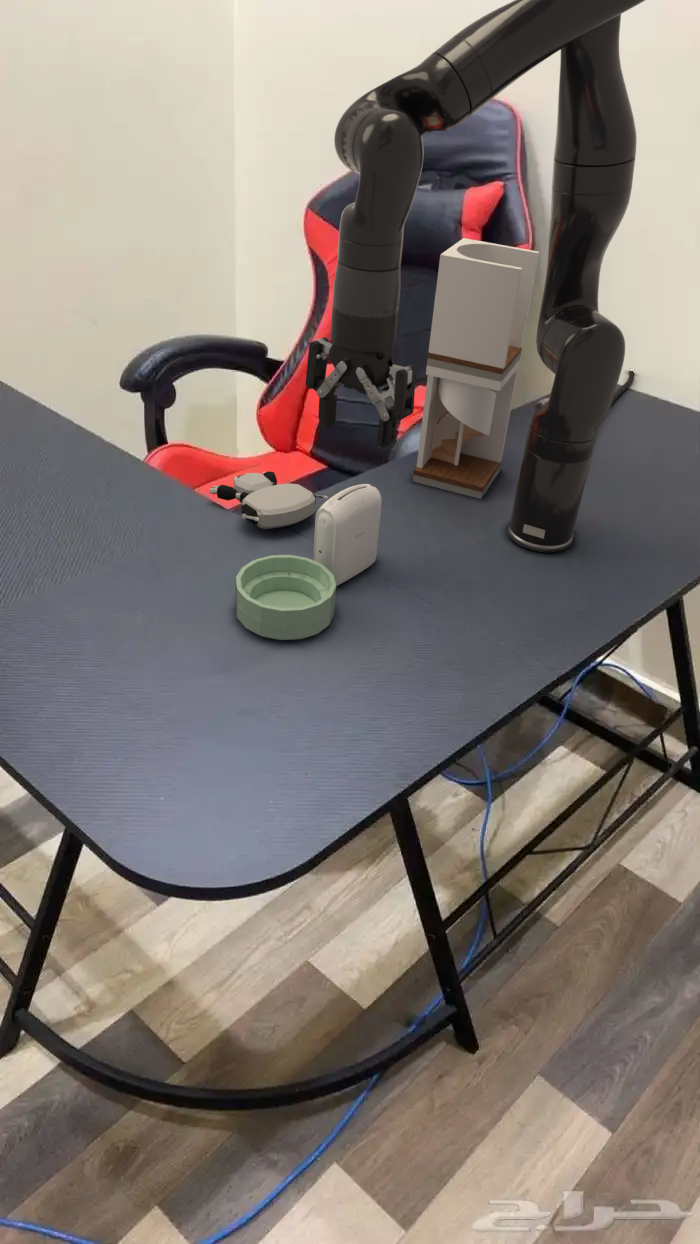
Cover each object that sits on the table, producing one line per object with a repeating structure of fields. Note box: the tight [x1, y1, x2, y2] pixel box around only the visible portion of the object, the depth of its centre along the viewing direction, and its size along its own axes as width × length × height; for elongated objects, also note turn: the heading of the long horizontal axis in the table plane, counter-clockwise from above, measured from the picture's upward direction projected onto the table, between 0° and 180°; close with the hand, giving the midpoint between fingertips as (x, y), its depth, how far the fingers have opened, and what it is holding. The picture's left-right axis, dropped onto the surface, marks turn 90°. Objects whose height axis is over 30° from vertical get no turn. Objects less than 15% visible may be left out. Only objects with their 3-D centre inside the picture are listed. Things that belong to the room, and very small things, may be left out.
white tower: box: [412, 237, 540, 500], centre depth 143 cm, size 11×11×35 cm
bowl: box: [235, 554, 337, 641], centre depth 118 cm, size 12×12×5 cm
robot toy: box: [208, 470, 329, 530], centre depth 139 cm, size 12×4×15 cm
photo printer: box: [312, 483, 383, 587], centre depth 125 cm, size 10×4×12 cm, turn 140°
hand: (355, 435), depth 117 cm, fingers open, 8 cm apart
